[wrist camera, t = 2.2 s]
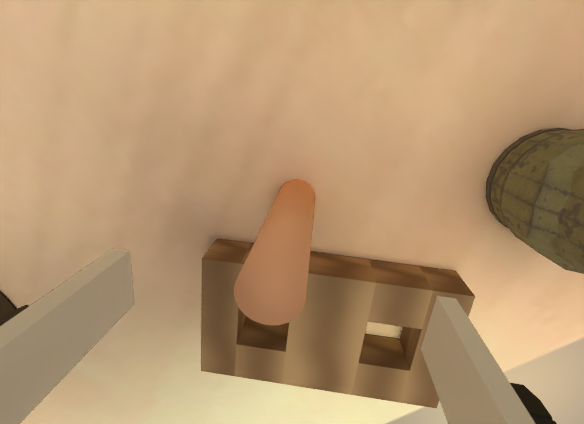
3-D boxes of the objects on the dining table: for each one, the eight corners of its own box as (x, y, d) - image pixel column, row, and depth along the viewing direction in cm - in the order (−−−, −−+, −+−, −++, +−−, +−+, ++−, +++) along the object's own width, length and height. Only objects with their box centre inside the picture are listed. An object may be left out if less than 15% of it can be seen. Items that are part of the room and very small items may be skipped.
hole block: (214, 341, 34) (201, 370, 31) (217, 238, 30) (202, 258, 27) (423, 373, 33) (436, 408, 29) (455, 270, 29) (475, 296, 25)
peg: (277, 212, 29) (232, 319, 15) (280, 177, 28) (235, 257, 14) (312, 216, 29) (301, 330, 15) (317, 182, 28) (310, 268, 14)
